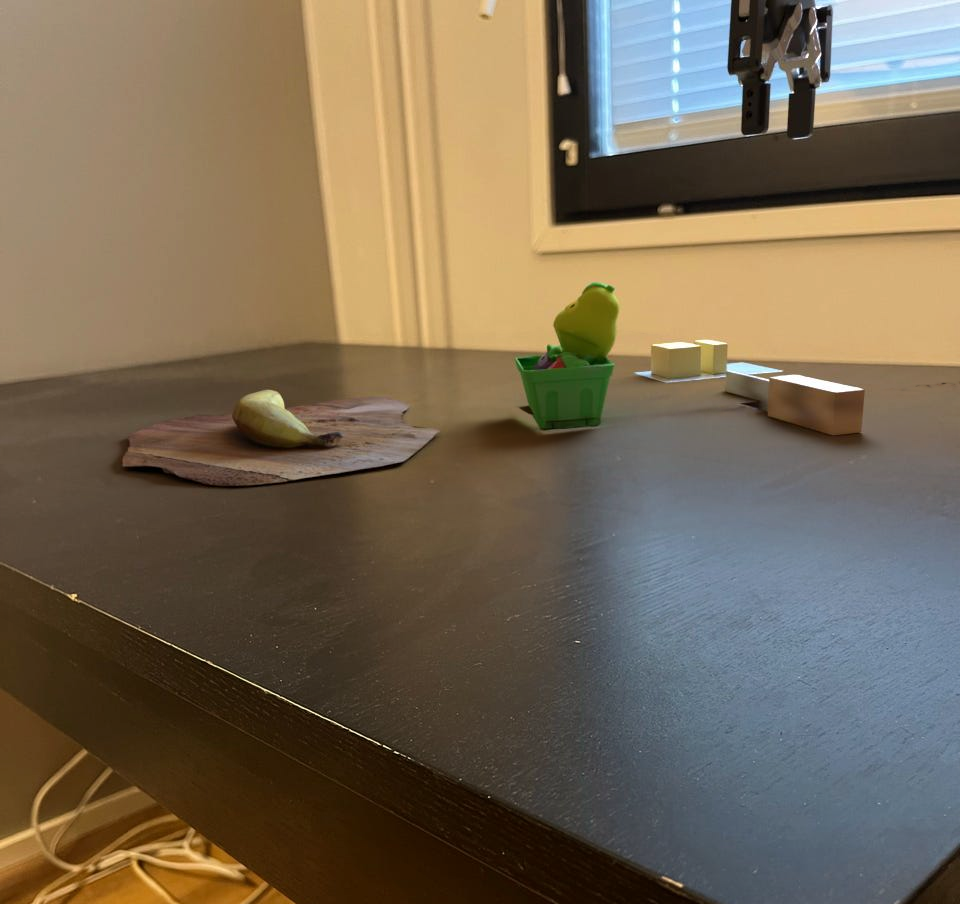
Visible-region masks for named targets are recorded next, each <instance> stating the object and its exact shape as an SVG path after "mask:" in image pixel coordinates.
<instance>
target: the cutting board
mask: <svg viewBox="0 0 960 904" xmlns="http://www.w3.org/2000/svg"><path fill="white" fill-rule="evenodd" d="M410 407H411V405H410V404H407V403H405V402H401V401H400V400H395V399H392V398H390V397H380V396H360V397H348V398H347V397H345V398H339V399H335V400H328V401H323V402H316V403H309V404H304V405H297V406H291V407H285V402H284V400H283V397H282V396H281V394H280V393H279V392H278V391H276V390H273V389H262V390H259V391H255V392H252V393H248V394H245V395H244V396H243V397H241V398H240V399H239V400H238V402H237V403H236V404H235V406H234V409H233V412H232V413H227V414H196V415H193V416H189V417H181V418H176V419H170V420H164V421H162V422H159V423H156V424H153V425H150V426H147V427H145V428H143V429H140V430H137V431H134V432H132V433H130V434H128V435H126V438H127V439H128V441H129V445H128V448H127V450H126V452H125V453H124V455H123V456H122V467H126V468H127V467H128V468H138V467H155V468H161V469H162V471H163V472H164V473H166V474H169V475H176V476H177V477H178V478H180V479H185V480H187V481H195V482H198V483H201V484H204V485H211V486H212V487H213V486H215V487H229V486H231V487H233V486H237V487H249V486H257V485H268V484H278V483H286V482H292V481H296V480H301V479H306V478H313V477H320V476H326V475H327V476H328V475H332V474H333V475H334V474H335V475H336V474H341V473H346V472H353V471H359V470H365V469H372V468H378V467H384V466H388V465H393V464H397V463H403V462H405V461H406V460H408V459H409V458H411V456H413V455H414V454H416V453H417V452H418V451H419V450H421V449H422V448H423V447H424V446H425V445H427V444H428V442H430V440H432V439H433V438H434V436H435V435H436V434H438V433H441V432H442V430H439V429H435V428H431V427H423V426H415V425H410V424H407V423H402V422H403V417H404V414H403V412H405V411H407V410H408V409H407V408H409V409H410Z"/></svg>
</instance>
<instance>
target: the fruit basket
mask: <svg viewBox="0 0 960 904" xmlns="http://www.w3.org/2000/svg"><path fill="white" fill-rule="evenodd" d="M614 291H615V287H614V286H612V285H611V284H608V285H607V284H605V283H603V282H600V281H594V282H591V283H590V284H588V285H587V286H586V287H585V288H584V289H583V290H582V292H581V295H580V296H579V297H578V298H577V299H576V300H574V301H572V302H571V303H569V304H568V305H566V306H565V307H564V309H563V310H561V311H560V312H559V313H557V315H556V316H555V319H554V320H553V324H552V326H553V329H554V332H555V334H556V337H557V339H558V342H559V345H552V344H551V343H549V344H547V345H546V352H545V353H543V354H537V355H528V356H520V357H515V358H514V362H515V365H516V369H517V370H518V372H519V374H520V377H521V381H522V385H523V388H524V391H525V397H526V400H527V404H528V406H529V408H530V410H531V412H532V413H533V414H532V418H533V419H534V421H535V423H536V424H537V426H538V428H539V429H540V430H548V429H561V428H573V427H574V428H576V427H586V426H599V425H600V424H601V420H602V415H603V412H604V411H603V410H604V407H605V401H606V398H607V392H608V388H609V384H610V379H611V377H612V376H613V373H614V368H615V363H614V362H612V361H611V360H610V359H609V358H607V356H608V355H609V353H610V352H611V350H612V349H613V347H614V345H615V342H616V340H617V339H616V338H617V328H618V327H617V326H618V325H617V324H618V323H617V322H618V318H619V314H620V310H621V305H620V303H619V301H618V298H617V297H616V295H615V294H614ZM552 421H555V422H552ZM556 421H557V422H556Z"/></svg>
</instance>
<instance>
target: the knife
mask: <svg viewBox="0 0 960 904" xmlns="http://www.w3.org/2000/svg"><path fill="white" fill-rule="evenodd" d="M724 384H725V386H724V391H725V392H727V393H731V394H734V395H738V396H742V397H745V398H748V399H752V400H756V401H748V402H739V404H740V405H743V406H747V407H750V408H754V409H758V410H761V411H763V412H767V416H768V417H770V418H773V419H777V420H780V421H784V422H787V423H790V424H793V425H795V426H800V427H803V428H806V429H809V430H813V431H817V432H820V433H823V434H826V435H830V436H841V435H842V436H843V435H850V434H859V433H862V428H863V417H864V404H865V392H866V389H864V388H861V387H855V386H851V385H847V384H841V383H837V382H832V381H827V380H822V379H817V378H813V377H809V376H804V375H800V374H787V375H776V376H769V378H764V377H760V376H754V375H752V374H750V375H747V374H742V373H738V372H734V371H726V377H725V383H724Z"/></svg>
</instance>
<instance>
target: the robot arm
mask: <svg viewBox="0 0 960 904" xmlns="http://www.w3.org/2000/svg"><path fill="white" fill-rule="evenodd" d="M833 17H834V9H833V6H832V4H827V5H819V6H817V4H816V0H730V15H729V31H728V32H729V33H728V47H727V48H728V50H727V63H726V64H727V74H728V75H729V76H736V77H737V83H738V84H739V86H741V87H742V93H741V94H742V97H741V118H740V119H741V121H740V122H741V123H740V132H741V134H742V136H744V137H745V136H746V137H747V136H748V137H750V136H751V137H752V136H760V135H765V134H766V133H768V130H769V128H770V110H771V109H770V108H771V107H770V106H771V88H772V87H771V85H772V84H771V83H768V82H770V80H771V78H772V76H773V74H774V73H773V72H774V70H775V67H776V65H777V64H778V68H779V69H780V71H783V72H785V75H786V79H787V84H788V88H789V91H790V93H788V101H787V102H788V105H787V106H788V108H787V122H786V124H787V125H786V136H787V138H788V139H789V140H799V139H807V138H810V137H812V135H813V133H814V125H815V107H816V91H817V90H818V89H820V88H821V84H825V83H828V82H829V81H830V79H831V69H832V66H831V65H832V43H833V41H832V40H833V22H834V21H833V19H834V18H833ZM743 42H744V44H743V47H742V43H743ZM741 54H742V56H741ZM818 60H819V62H818Z"/></svg>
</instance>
